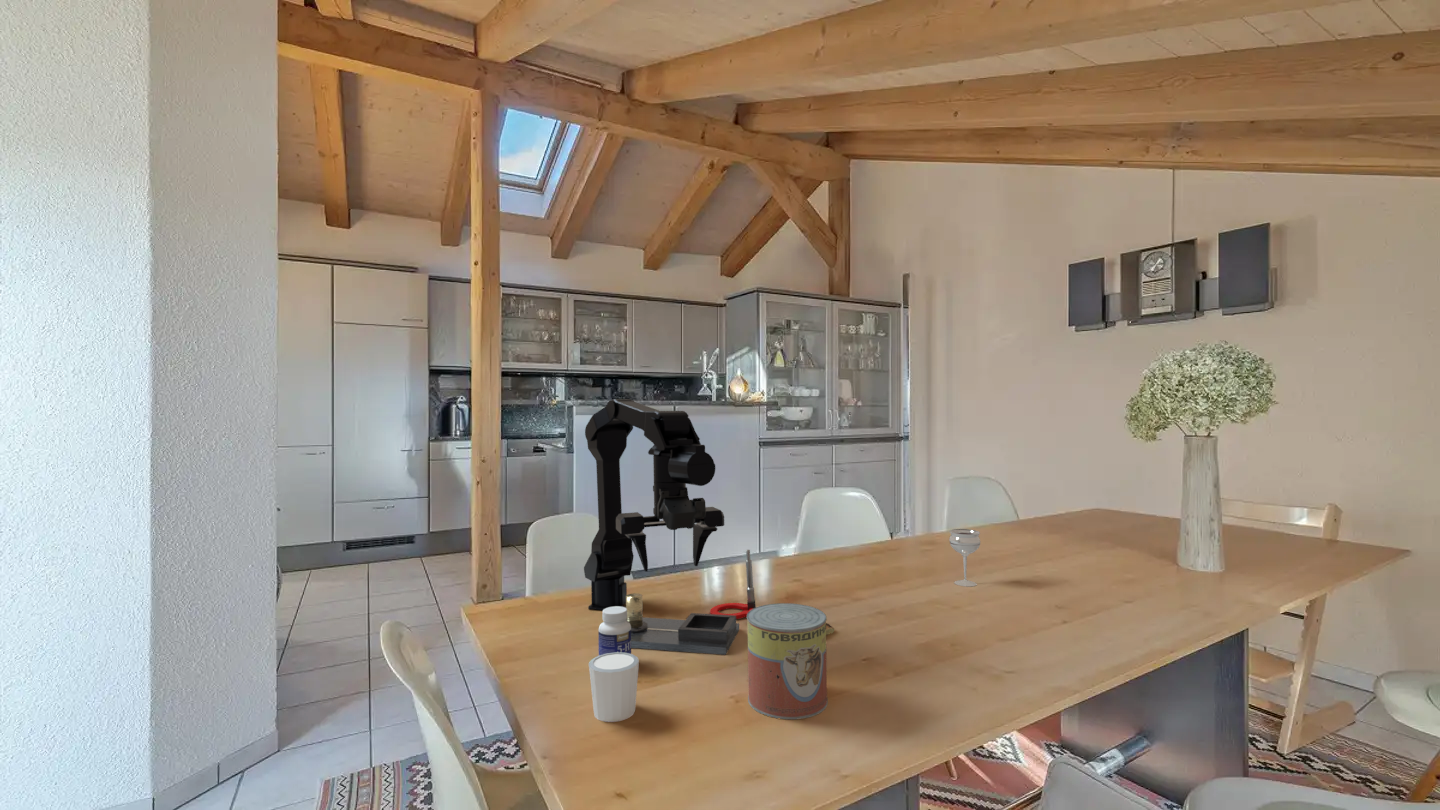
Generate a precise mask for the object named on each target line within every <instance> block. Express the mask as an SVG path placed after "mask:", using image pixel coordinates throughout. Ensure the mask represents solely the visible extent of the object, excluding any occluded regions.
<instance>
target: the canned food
mask: <svg viewBox="0 0 1440 810" xmlns="http://www.w3.org/2000/svg"><path fill="white" fill-rule="evenodd" d="M746 619H747V666H748V667H747V671H748V672H747V674H748V675H747V676H748V677H747V678H748V679H747V680H748V681H747V682H748V695H747V702H748V704H749V706H750V707H751V708H752V709H753V710H754V711H756V712H757V713H759V714H761V715H763V714H764V715H763V716H766V715H767V717H769V716H770V718H773V717H774V718H773V719H778V718H780V719H779V720H802V719H808V718H811V717H814V716H815V717H816V716H817V715H819V714H821V713H822V712H823V711H825V710H826V708H827V706H828V703H829V702H828V700H829V699H828V685H827V684H828V680H827V679H828V677H827V675H828V674H827V672H828V671H827V635H826V623H827V615H826V614H825V613H824V611H822V610H820V609H818V608H816V607H813V606H810V605H806V604H800V603H789V602H788V603H787V602H786V603H785V602H782V603H780V602H779V603H770V604H764V605H759V606H756V608H754V609H752V610H750V611H749V612H748V614H747V617H746Z"/></svg>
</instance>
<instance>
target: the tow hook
mask: <svg viewBox="0 0 1440 810" xmlns="http://www.w3.org/2000/svg"><path fill="white" fill-rule="evenodd" d="M745 553H746V560H745V567H746V585H747V587H746V594H747V596H746V597H747V601H746V602H747V603H742V602H741V603H740V602H728V603H727V602H726V603H721V604H717V605H715V606H713V607H711V608H710V609H709V614H717V615H733V616H736V620H741V619H743V618H747V614H748V612H749V611H750V610H752V609H754V608H756V607H757V605H756V597H755V587H754V576H753V562H752V559H751V549H746V550H745ZM729 609H732V610H733V609H734V610H735V609H737V610H742V611H739V612H733V613H722V612H720V611H724V610H729Z"/></svg>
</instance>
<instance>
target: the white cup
mask: <svg viewBox="0 0 1440 810" xmlns="http://www.w3.org/2000/svg"><path fill="white" fill-rule="evenodd" d="M639 663H640V660H639V657H638V656H636V655H635V654H633V653H631V654H629V653H623V652H614V653H606V654H603V655H599V654H598V655H596V656H595V657H594V658H591V660H590V661H589V662H588V669H589V671H588V672H589V678H590V680H589V681H590V689H591V698H592V709H593V714H594V715H593V716H594V718H595V719H597V720H598V721H601V722H606V723H615V722H621V721H624V720H627V719H629V718H630V717H632V716H633V715H634V714H635V711H636V703H637V691H638V680H639V679H638V678H639V665H640V664H639Z"/></svg>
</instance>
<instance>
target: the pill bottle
mask: <svg viewBox="0 0 1440 810" xmlns="http://www.w3.org/2000/svg"><path fill="white" fill-rule="evenodd" d="M601 617H602V621H603V622H601V623H600V624H599V627H598V656H599V655H603V654H606V653H614V652H623V653H629V654H632V648H631V625H630V623H629V622H628V621H626V619H627V609H626V606H622V607H620V606H614V607H608V608H605V609H604V610H602V616H601Z"/></svg>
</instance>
